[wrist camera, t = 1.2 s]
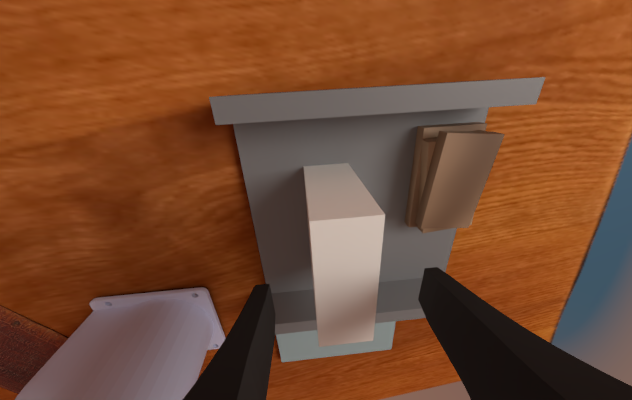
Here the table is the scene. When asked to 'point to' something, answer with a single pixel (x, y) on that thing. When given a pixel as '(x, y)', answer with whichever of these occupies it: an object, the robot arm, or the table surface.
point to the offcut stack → (449, 174)
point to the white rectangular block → (343, 253)
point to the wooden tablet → (24, 349)
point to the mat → (308, 345)
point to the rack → (366, 161)
